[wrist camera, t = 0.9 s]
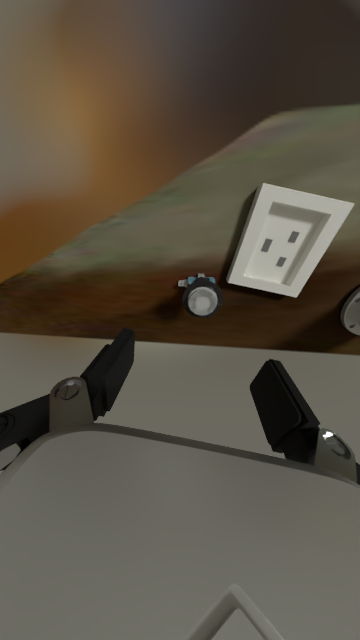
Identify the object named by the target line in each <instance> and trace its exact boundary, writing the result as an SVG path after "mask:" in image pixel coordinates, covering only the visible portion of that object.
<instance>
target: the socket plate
mask: <svg viewBox="0 0 360 640" xmlns="http://www.w3.org/2000/svg"><path fill="white" fill-rule="evenodd" d="M353 206H354V203H350V202H345V201H341V200H336V199H332V198H328V197H323V196H319V195H314V194H310V193H305V192H301V191H296V190H292V189H288V188H283V187H279V186H274V185H270V184H265V183H263V184H261V185H260V186H259V187H258V188H257V191H256V193H255V196H254V199H253V202H252V205H251V208H250V211H249V214H248V217H247V220H246V223H245V225H244V228H243V231H242V234H241V237H240V240H239V243H238V246H237V249H236V252H235V254H234V257H233V260H232V263H231V266H230V269H229V272H228V275H227V278H226V280H227V282H228V283H232V284H236V285H241V286H246V287H250V288H255V289H260V290H264V291H269V292H274V293H278V294H283V295H288V296H292V297H297V296H298V294H299V293H300V291H301V290H302V288H303V286H304V285H305V283H306V282H307V280H308V278H309V277H310V275H311V273H312V272H313V270H314V269H315V267H316V265H317V264H318V262H319V261H320V259H321V257H322V256H323V254H324V253H325V251H326V249H327V248H328V246H329V244H330V243H331V241H332V240H333V238H334V236H335V235H336V233H337V232H338V230H339V228H340V227H341V225H342V224H343V222H344V220H345V219H346V217H347V216H348V214H349V212H350V211H351V209H352V207H353Z"/></svg>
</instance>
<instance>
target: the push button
mask: <svg viewBox="0 0 360 640" xmlns="http://www.w3.org/2000/svg"><path fill="white" fill-rule="evenodd" d="M181 281H182V282H181ZM181 283H182V284H181ZM178 286H184V287H187V288H186V290H185V291H184V294H183V305H184V308H185V309H186V311H187V312H188V313H189V314H191V315H192V316H195V317H199V318H205V317H209V316H212V315H213V314H215V313H216V312H217V311H218V310H219V309H220V307H221V305H222V301H223V296H222V292H221V290H220V288H219V287H218V286H217V285H216V284H215V279H214V278H213V277H204V274H198V277H188V280H179V282H178ZM214 290H215V291H216V293H217V295H216V293H215V292H214ZM189 292H190V294H189ZM188 294H189V296H188ZM187 296H188V298H187Z"/></svg>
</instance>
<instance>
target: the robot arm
mask: <svg viewBox="0 0 360 640" xmlns="http://www.w3.org/2000/svg"><path fill="white" fill-rule="evenodd" d="M340 318H341V323H342V325H343V326H344V327H345V328H346V329H347V330H349V331H350V332H352V333H354V334H356V335H360V287H359V288H357V289H356V290H355V291H354V292H353V293H352V294H351V295H350V297H349V298H348V299H347V300H346V302H345V304H344V305H343V308H342V310H341V315H340ZM134 344H135V332H133V330H132V329H127V328H123V329H122V331H121V332H120V333H119V335H118V336H117V337H116V338H115V340H114V341H113V342H112V344H111V345H109V344H107V345H105V347H104V348H103V349H102V350H101V351H100V353H99V354H98V355H97V356H96V357H95V359H94V360H93V361H92V362H91V364H90V365H89V366H88V367H87V368H86V370H85V371H84V372H83V373H82V375H81V376H80V377H70V378H66V379H64V380H62V381H60V382H59V383H57V384H56V385H55V386H54V387H53V389H52V390H51V392H50V394H48V395H45V396H43V397H40V398H38V399H35V400H32V401H30V402H28V403H25V404H22V405H20V406H17V407H15V408H12V409H9V410H7V411H5V412H2V413H0V471H2V470H4V471H3V473H2V474H1V475H0V640H360V465H359V464H358V463H357V462H356V460H355V456H354V453H353V451H352V450H351V448H350V447H349V446H348V444H347V443H346V442H345V441H344V440H343V439H342V438H341V437H340V436H338V435H337V434H336V433H334V432H333V431H331V430H328V429H325V428H322V429H319V427H318V425H319V424H320V422H319V421H318V419H317V418H316V416H315V415H314V413H313V412H312V410H311V408H310V407H309V405H308V404H307V402H306V401H305V399H304V398H303V396H302V394H301V393H300V392H299V390H298V388H297V387H296V385H295V384H294V382H293V381H292V379H291V377H290V376H289V374H288V373H287V371H286V370H285V368H284V367H283V365H282V364H281V362H280V361H277V360H272V359H270V360H269V361H266V362H265V364H264V365H263V367H262V368H261V369H260V371H259V373H258V374H257V376H256V377H255V379H254V380H253V381H252V383H251V384H250V391H251V394H252V397H253V400H254V403H255V406H256V409H257V411H258V415H259V418H260V421H261V423H262V426H263V429H264V432H265V435H266V438H267V440H268V443H269V444H270V445H271V448H272V450H273V451H274V452H278V453H284V455H285V459H282V458H277V457H273V456H268V455H263V454H259V453H254V452H249V451H245V450H240V449H235V448H230V447H225V446H220V445H215V444H211V443H205V442H201V441H196V440H191V439H186V438H181V437H176V436H171V435H166V434H161V433H156V432H151V431H146V430H141V429H135V428H129V427H124V426H118V425H110V424H102V423H94V421H95V420H97V418H98V416H103V417H104V415H105V413H106V411H110V409H111V407H112V406H113V404H114V401H115V399H116V397H117V395H118V393H119V391H120V389H121V387H122V385H123V383H124V381H125V379H126V377H127V375H128V373H129V371H130V369H131V366H132V364H133V361H134Z"/></svg>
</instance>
